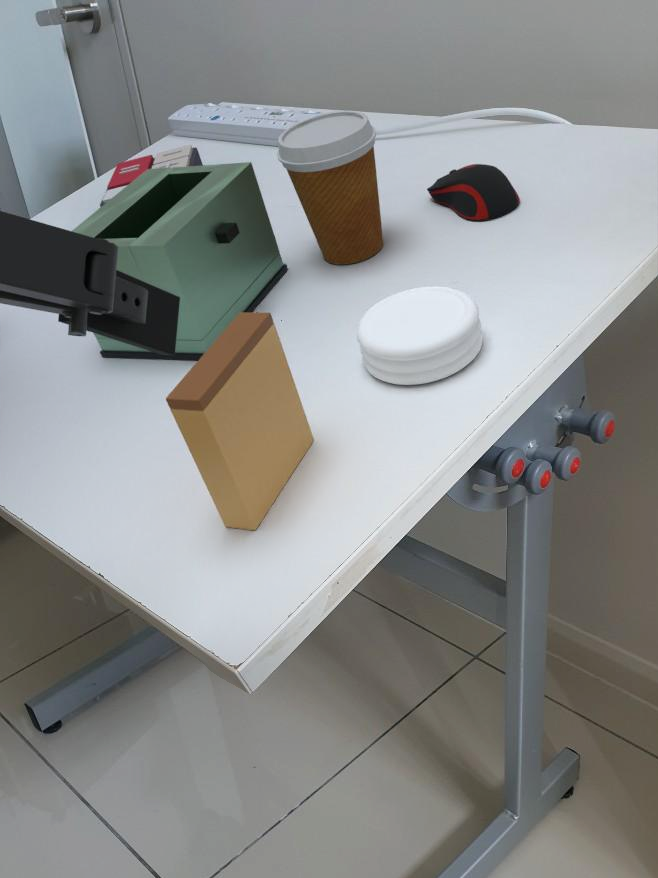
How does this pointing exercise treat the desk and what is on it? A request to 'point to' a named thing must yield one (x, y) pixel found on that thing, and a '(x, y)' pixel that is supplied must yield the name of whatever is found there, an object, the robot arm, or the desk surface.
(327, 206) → the disposable coffee cup
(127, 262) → the toaster
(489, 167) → the computer mouse
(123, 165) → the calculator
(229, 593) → the desk surface
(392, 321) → the white round container
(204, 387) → the toast
